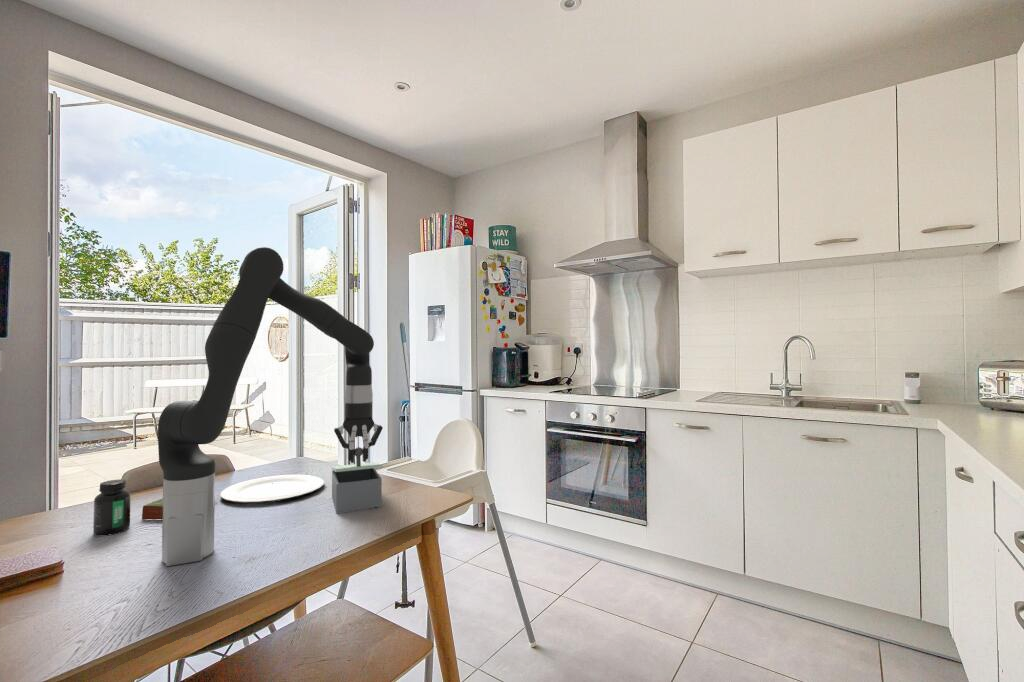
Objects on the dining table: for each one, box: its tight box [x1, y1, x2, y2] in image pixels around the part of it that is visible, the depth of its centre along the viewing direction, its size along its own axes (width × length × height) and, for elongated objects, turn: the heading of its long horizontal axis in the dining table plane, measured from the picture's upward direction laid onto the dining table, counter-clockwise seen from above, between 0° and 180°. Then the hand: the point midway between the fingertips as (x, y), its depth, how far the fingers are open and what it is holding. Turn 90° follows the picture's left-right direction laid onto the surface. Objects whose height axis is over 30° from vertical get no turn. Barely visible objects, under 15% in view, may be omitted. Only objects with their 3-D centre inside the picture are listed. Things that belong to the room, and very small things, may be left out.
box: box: [331, 468, 383, 514], centre depth 135 cm, size 16×12×8 cm
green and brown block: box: [141, 497, 163, 520], centre depth 128 cm, size 8×16×4 cm, turn 175°
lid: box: [331, 446, 383, 472], centre depth 136 cm, size 16×12×6 cm
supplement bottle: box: [92, 478, 132, 537], centre depth 113 cm, size 7×7×12 cm
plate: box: [220, 474, 325, 504], centre depth 145 cm, size 29×29×2 cm
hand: (358, 461), depth 131 cm, fingers closed on lid, 2 cm apart
